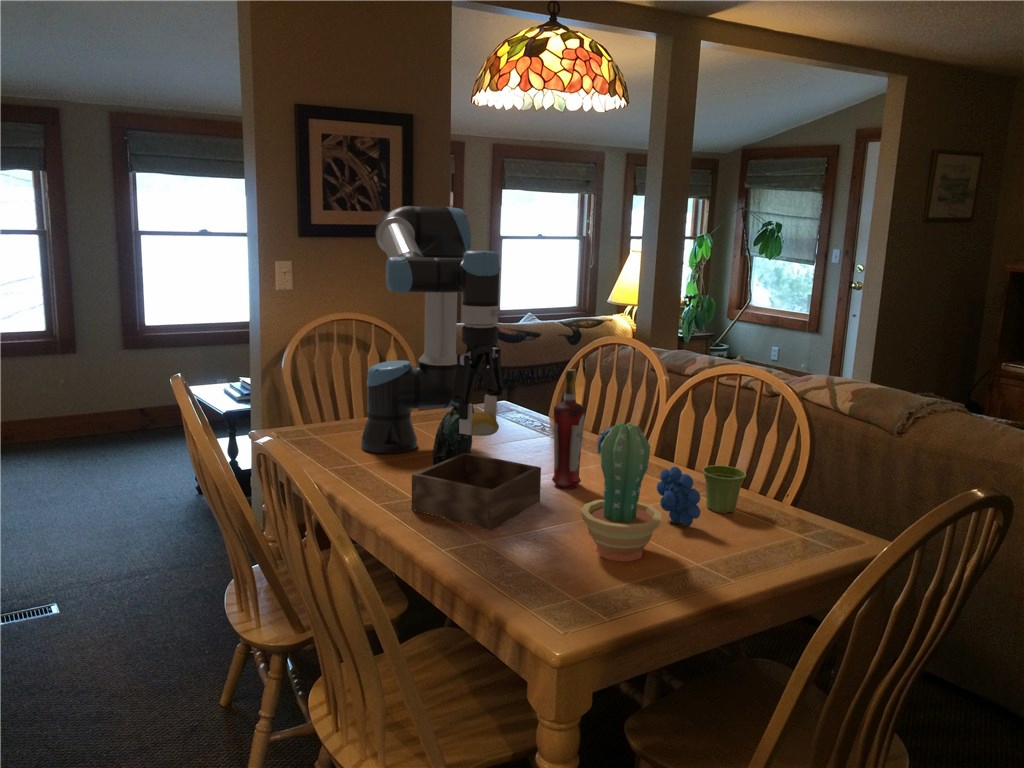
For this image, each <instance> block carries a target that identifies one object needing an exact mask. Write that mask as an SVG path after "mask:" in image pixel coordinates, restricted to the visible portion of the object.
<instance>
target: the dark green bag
mask: <svg viewBox="0 0 1024 768" xmlns="http://www.w3.org/2000/svg"><path fill="white" fill-rule="evenodd" d="M451 405H452V407H450V411H448V412H447V413H445V415H444V416H443V417H442V419H441V421H440V423H439V425H438V427H437V430H436V433H435V437H434V443H433V450H432V466H433V465H436V464H438V463H440V462H443V461H445V460H447V459H450V458H452V457H455V456H457V455H459V454H462V453H464V452H465V453H470V454H472V446H473V435H466V434H461V433H459V403H455V404H451ZM472 413H475V409H474V405H473V404H472Z"/></svg>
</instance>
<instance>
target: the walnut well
mask: <svg viewBox="0 0 1024 768" xmlns="http://www.w3.org/2000/svg"><path fill="white" fill-rule="evenodd" d="M541 476H542V467H541V466H535V465H531V464H525V463H520V462H516V461H510V460H505V459H500V458H495V457H490V456H484V455H480V454H479V455H478V454H474V453H471V454H470V453H465V452H464V453H462V454H459V455H457V456H455V457H452V458H450V459H447V460H445V461H443V462H440V463H438V464H436V465H433V464H432V465H431V466H429V467H426V468H423V469H422V470H418V471H416V472H414V473H412V474H411V511H413V510H416V511H415V512H417V511H420V512H419V513H421V512H425V513H429V514H433V515H432V516H434V515H437V516H436V517H438V516H441V517H440V518H442V517H445V518H444V519H446V518H449V519H448V520H450V519H452V520H451V521H454V520H456V521H455V522H458V521H460V522H459V523H462V522H464V523H463V524H466V523H468V524H467V525H470V524H472V525H471V526H474V525H475V527H478V526H479V528H482V527H483V529H486V528H487V530H491V531H493V529H494V530H495V529H497V528H498V527H500V526H502V525H503V523H504V524H505V523H507V522H509V521H510V520H511V519H513V518H515V517H517V516H519V515H520V514H522V513H523V512H525V511H527V510H528V509H531V508H532V507H533V506H535V505H537V504H539V503H541V483H542V482H541V481H542V480H541V479H542V477H541ZM425 513H424V514H425ZM429 514H428V515H429ZM508 520H509V521H508ZM506 521H507V522H506Z"/></svg>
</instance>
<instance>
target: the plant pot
mask: <svg viewBox="0 0 1024 768" xmlns="http://www.w3.org/2000/svg"><path fill="white" fill-rule="evenodd" d="M702 473H703V476H704V479H705V492H706V494H705V495H706V507H707V509H710V510H711V511H713V512H714V513H721V514H727V513H733V512H735V511H736V507H737V503H738V499H739V496H740V495H739V494H740V491H741V486H742V484H743V482H744V479H745V478H746V477H747V473H746V471H744V470H742V469H740V468H738V467H734V466H728V465H719V464H715V465H707V466H705V467H703V468H702Z"/></svg>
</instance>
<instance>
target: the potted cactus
mask: <svg viewBox="0 0 1024 768" xmlns="http://www.w3.org/2000/svg"><path fill="white" fill-rule="evenodd" d="M595 444H596V445H597V446H596V447H597V450H596V452H597V454H598V455H600V467H601V471H602V475H603V478H604V479H603V480H604V485H603V486H604V487H603V490H604V491H603V499H595V500H593V501H590V502H587V503H585V504H584V503H583V506H582V508H581V510H580V514H581V519H582V520H583V521H584V522H585V525H586V527H587V530H588V535H589V536H590V537H591V539H592V540H593V542H594V543H595V545H596V550H595V552H596V553H597V554H598V555H599V556H600V557H602V558H605V559H607V560H610V561H616V562H617V561H618V562H631V561H636V560H638V559H640V558H642V557H643V552H644V551H643V549H644V548H645V547H646V546H647V545H648V543H650V541H651V539H652V536H653V534H654V532H655V529H658V528H659V527H660V523H661V520H662V515H663V513H662V512H661V511H660V510H658V508H656V507H655V506H654V505H651V504H647V503H644V502H641V501H639V499H640V493H641V489H642V488H641V487H642V482H643V480H644V477H645V476H646V473H647V471H648V468H649V461H650V454H651V445H650V442H649V440H648V439H647V436H646V435H645V434H644V433H643V431H642V429H641V427H640V426H639V424H635V425H634V424H633V422H627V423H626V424H625V423H623V422H618V423H615V425H612V426H608V427H607V428H606V429H605V428H604V429H603V430H602V431H601V432H600V433H599V435H598V437H597V439H596V443H595Z"/></svg>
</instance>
